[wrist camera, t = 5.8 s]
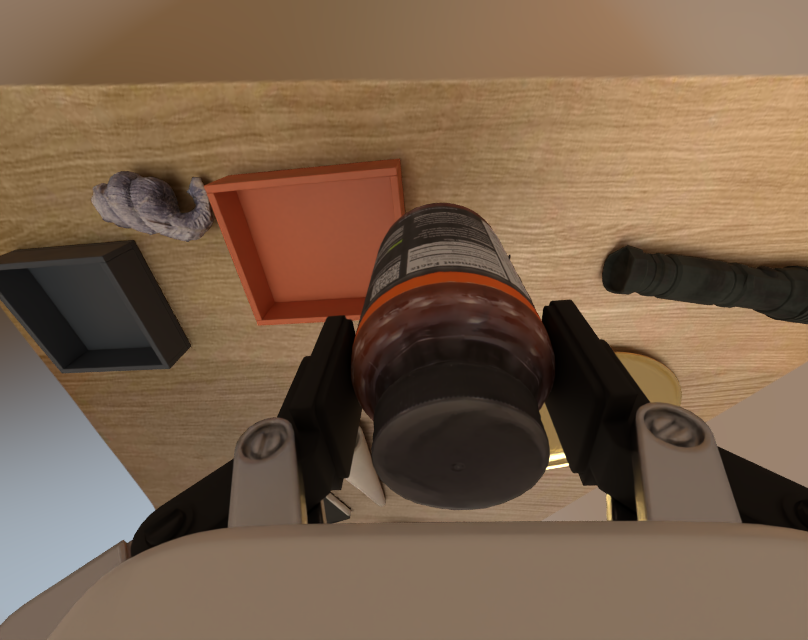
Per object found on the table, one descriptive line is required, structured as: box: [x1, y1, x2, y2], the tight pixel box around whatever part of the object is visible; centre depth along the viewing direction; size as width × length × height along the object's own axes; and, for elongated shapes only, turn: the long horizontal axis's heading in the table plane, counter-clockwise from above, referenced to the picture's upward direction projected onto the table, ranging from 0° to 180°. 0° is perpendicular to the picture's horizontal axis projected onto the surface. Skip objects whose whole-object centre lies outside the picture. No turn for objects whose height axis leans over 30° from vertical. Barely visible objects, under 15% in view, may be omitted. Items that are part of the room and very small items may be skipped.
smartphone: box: [323, 493, 351, 524], centre depth 57 cm, size 8×1×15 cm
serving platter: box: [539, 352, 682, 470], centre depth 44 cm, size 19×35×2 cm, turn 112°
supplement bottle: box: [351, 203, 556, 510], centre depth 12 cm, size 6×6×11 cm
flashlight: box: [602, 245, 808, 324], centre depth 31 cm, size 5×21×5 cm, turn 83°
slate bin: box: [0, 240, 191, 373], centre depth 37 cm, size 13×13×4 cm
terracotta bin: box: [204, 159, 405, 325], centre depth 32 cm, size 13×15×4 cm
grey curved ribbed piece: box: [91, 171, 214, 242], centre depth 30 cm, size 5×5×10 cm
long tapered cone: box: [345, 426, 386, 506], centre depth 51 cm, size 6×6×19 cm
